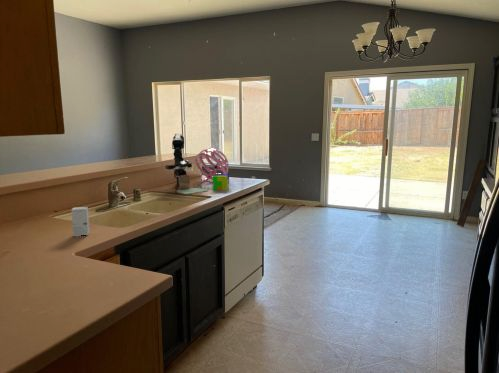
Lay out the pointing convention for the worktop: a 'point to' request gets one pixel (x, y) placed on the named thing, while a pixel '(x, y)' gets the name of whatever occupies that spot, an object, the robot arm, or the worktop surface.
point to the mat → (191, 191)
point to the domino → (184, 182)
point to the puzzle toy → (221, 182)
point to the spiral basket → (216, 167)
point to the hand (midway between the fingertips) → (179, 177)
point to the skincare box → (80, 221)
